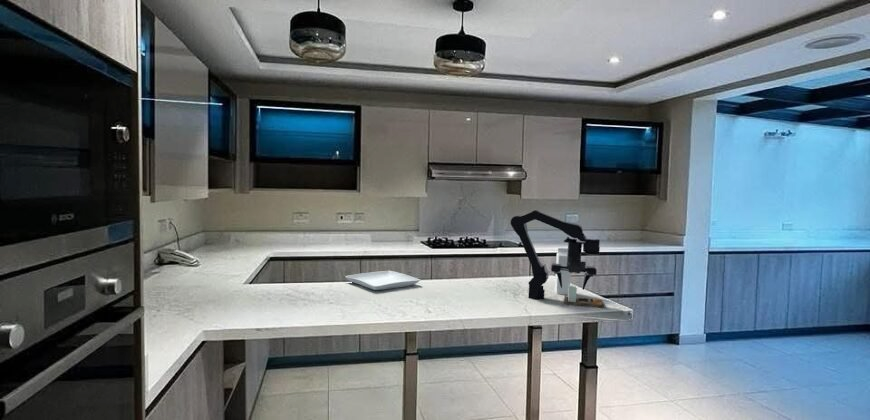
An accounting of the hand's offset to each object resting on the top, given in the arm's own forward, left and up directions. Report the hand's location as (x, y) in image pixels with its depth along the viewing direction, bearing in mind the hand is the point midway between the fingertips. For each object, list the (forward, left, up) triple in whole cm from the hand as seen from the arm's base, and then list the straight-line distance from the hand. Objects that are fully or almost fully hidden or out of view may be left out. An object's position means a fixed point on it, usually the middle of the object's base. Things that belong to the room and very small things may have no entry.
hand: (572, 288), depth 209 cm
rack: (+5, 0, -7) cm, 8 cm away
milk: (-3, +17, -7) cm, 19 cm away
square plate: (-89, +6, -7) cm, 89 cm away
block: (0, 0, -6) cm, 6 cm away
